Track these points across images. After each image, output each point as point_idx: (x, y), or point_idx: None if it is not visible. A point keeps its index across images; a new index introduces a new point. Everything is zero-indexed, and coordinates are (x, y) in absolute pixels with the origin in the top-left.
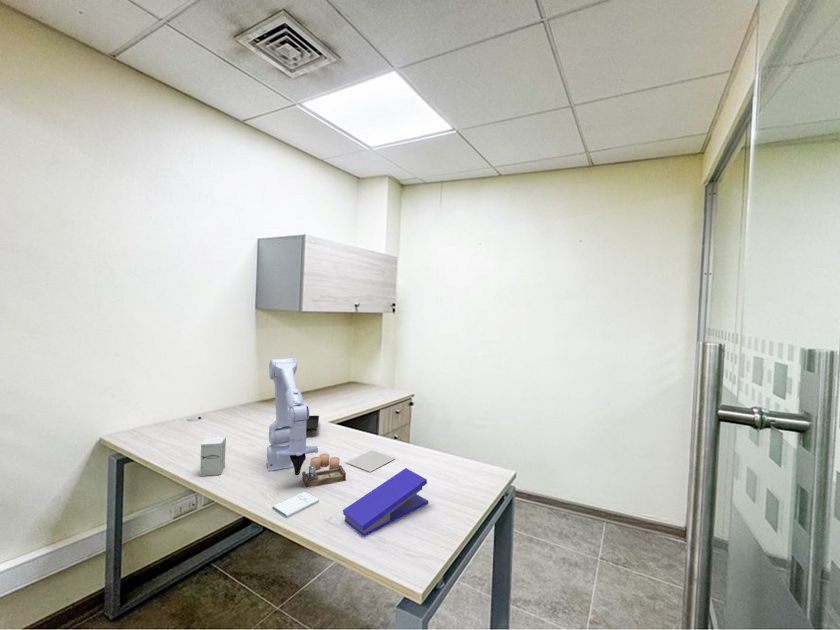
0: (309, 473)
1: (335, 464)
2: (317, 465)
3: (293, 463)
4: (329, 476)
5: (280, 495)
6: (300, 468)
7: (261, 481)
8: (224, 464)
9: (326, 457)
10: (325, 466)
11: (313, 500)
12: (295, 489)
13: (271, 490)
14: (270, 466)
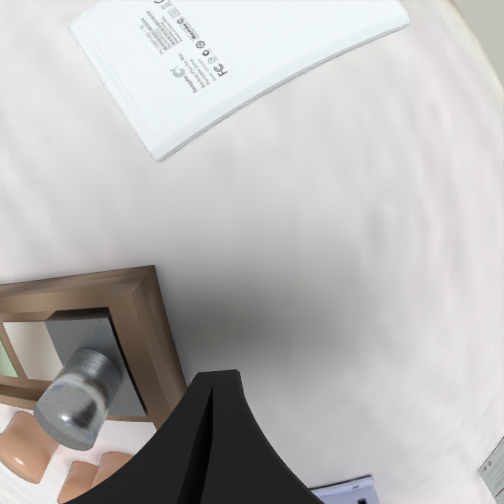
0: (102, 380)
1: (8, 434)
2: (104, 473)
3: (291, 488)
4: (11, 349)
5: (361, 193)
6: (169, 419)
7: (429, 400)
8: (486, 474)
9: (64, 497)
10: (81, 463)
11: (103, 10)
12: (236, 263)
13: (410, 290)
14: (366, 496)
